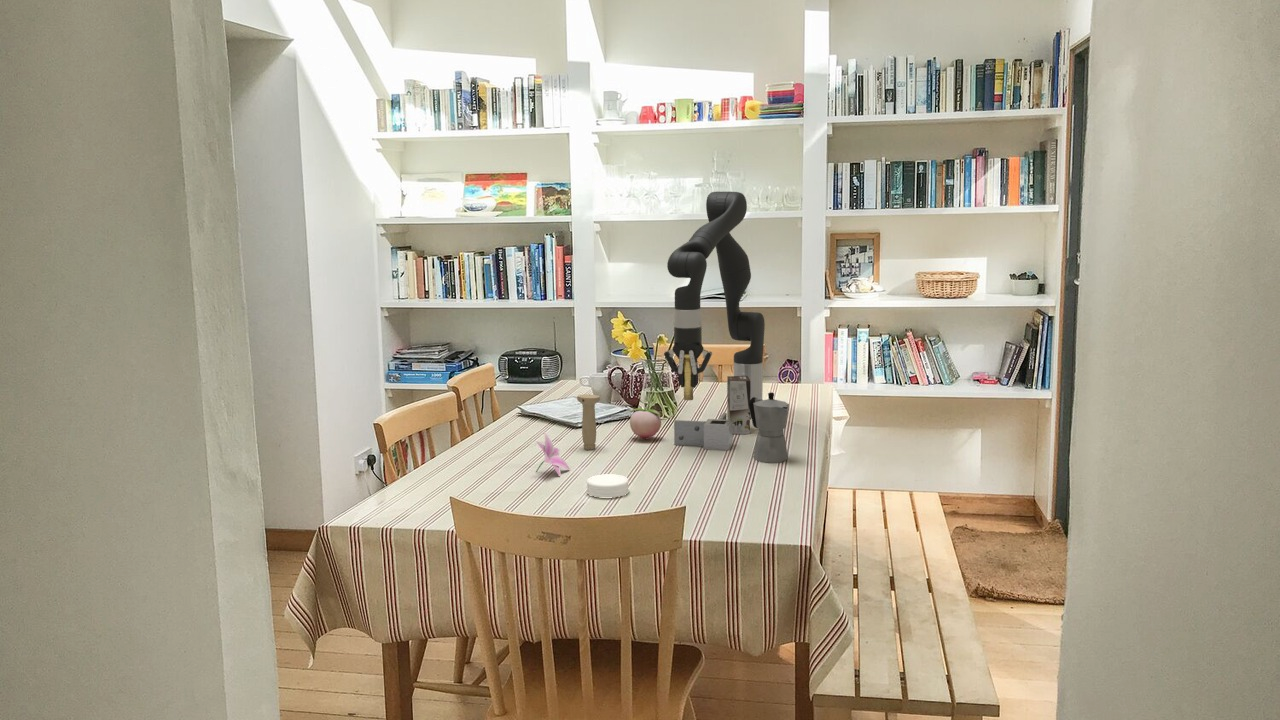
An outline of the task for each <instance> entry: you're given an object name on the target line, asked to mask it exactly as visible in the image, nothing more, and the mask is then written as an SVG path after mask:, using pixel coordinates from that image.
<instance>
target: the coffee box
mask: <svg viewBox="0 0 1280 720" xmlns="http://www.w3.org/2000/svg"><path fill="white" fill-rule="evenodd" d="M726 378H727V381H726V383H727V385H726V386H727V387H726V389H727V391H726V393H727V394H726V395H727V396H726V397H727V399H726V404H727V406H726V407H727V408H726V413H727V420H733V435H750V433H751V418H750V409H749V401H750V389H751V380H750V379H749V377H748V376H734V375H733V376H732V375H728V376H726Z"/></svg>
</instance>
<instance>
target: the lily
mask: <svg viewBox="0 0 1280 720" xmlns="http://www.w3.org/2000/svg"><path fill="white" fill-rule="evenodd" d="M543 435H544V443H542V442H540V441H536V440H535V443H536V444H537V446H538V447H539V448H540V450H542V452H543V453H544V459H543V460H542V462H541V463H540V464H539V466H538V467H537V469H536V470H535V473H536V472H537V473H538V470H539V469H541V468H540V467H541V466H542V465H543V464H544V463H545V464H546V465H547V464H548V465H552V467H553V468H554V470H555V472H556V473H557V475H558V477H559V476H561V468H563V469H565V470H568V471H571V468H570V466H569V464H568V463H567V462H566V460H565V459H564V458H563V457H562V456H561V452H560V448H558V447H554V443H553V441H552V439H551V438H550V437H549V435H548V434H547V432H545V431H544V432H543ZM561 477H562V476H561Z"/></svg>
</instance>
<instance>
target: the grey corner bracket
mask: <svg viewBox="0 0 1280 720" xmlns="http://www.w3.org/2000/svg"><path fill="white" fill-rule="evenodd" d="M673 423H674V424H673V429H674V430H673V434H674V438H673V439H674V440H673V442H674V444H673V445H674V446H687V447H703V449H704V450H711V451H712V450H716V451H730V449H731V448H732V446H733V441H734V440H733V435H734V434H733V420H727V412H723V413H722V414H721V416H720V417H719V418H718V419H714V418H711V419H710V418H708V419H706V421H704V420H702V421H701V420H683V419H681V420H679V419H678V420H677V419H675V420H673Z"/></svg>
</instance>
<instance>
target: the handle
mask: <svg viewBox="0 0 1280 720" xmlns="http://www.w3.org/2000/svg"><path fill="white" fill-rule="evenodd" d="M600 398H601V397H600V395H597V394H587V393H586V394H585V393H584V394H579V395H577V396H576V401H577V402H579V403H580V404H582V405H581V406H582V418H581V419H582V420H581V435H582V436H581V437H582V442H583V444H582V445H583V449H585V450H586V451H587V450H595V449H596V440H597V421H596V411H595V409H596V408H595V407H596V404H597V403H598V402H600V400H601V399H600Z"/></svg>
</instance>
